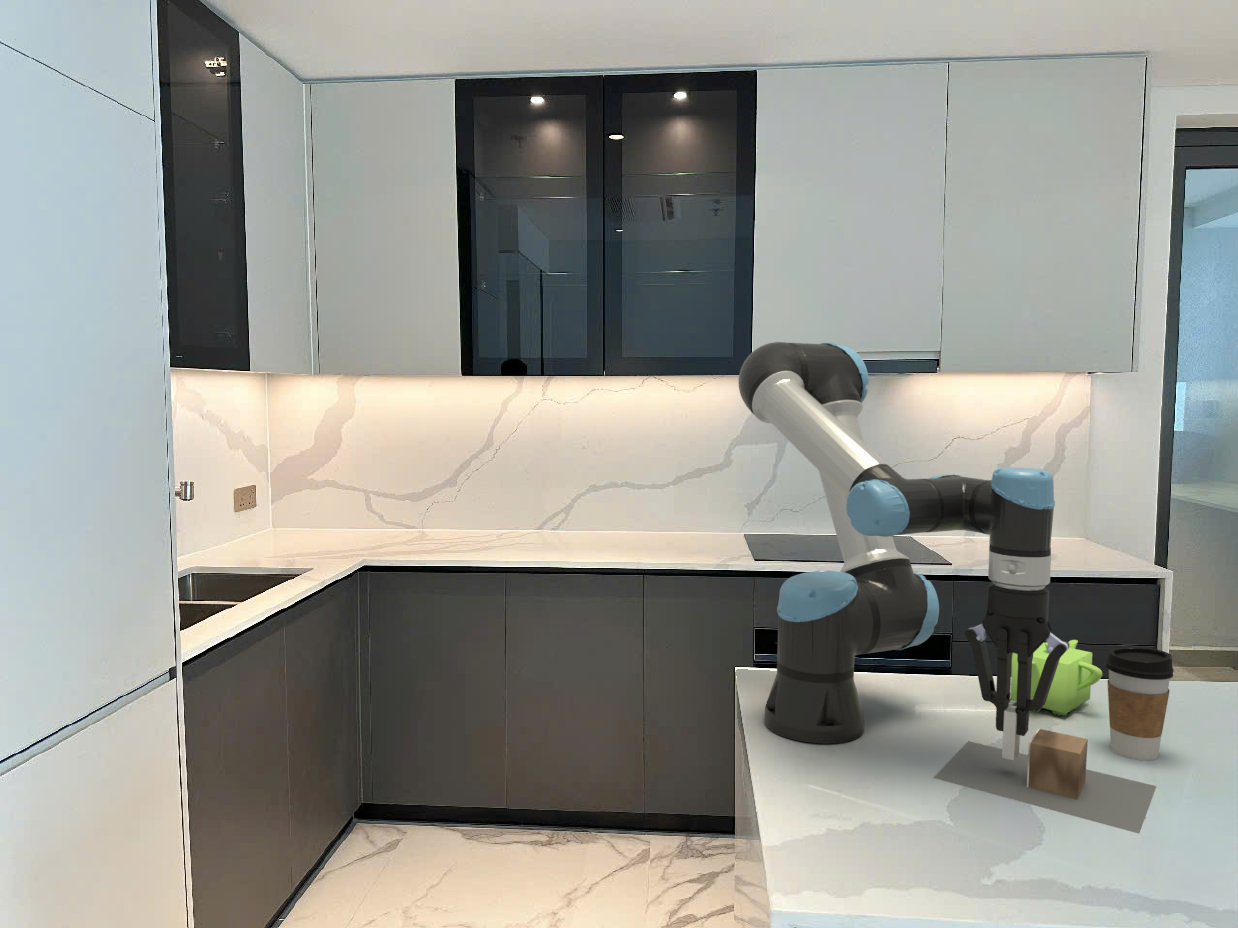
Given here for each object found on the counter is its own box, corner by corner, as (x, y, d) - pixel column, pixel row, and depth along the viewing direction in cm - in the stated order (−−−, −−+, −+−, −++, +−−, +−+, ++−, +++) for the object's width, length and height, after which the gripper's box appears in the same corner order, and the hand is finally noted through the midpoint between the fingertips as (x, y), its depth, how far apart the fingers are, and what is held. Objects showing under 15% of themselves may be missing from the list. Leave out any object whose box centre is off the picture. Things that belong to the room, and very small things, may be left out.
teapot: (1073, 692, 154) (1076, 632, 153) (1118, 720, 141) (1122, 655, 140) (986, 691, 154) (989, 631, 153) (1024, 720, 140) (1027, 655, 139)
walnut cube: (1028, 742, 115) (1080, 753, 112) (1037, 728, 120) (1087, 738, 117) (1026, 786, 116) (1077, 799, 112) (1035, 770, 121) (1085, 782, 117)
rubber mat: (933, 779, 118) (933, 777, 118) (968, 742, 131) (968, 740, 131) (1139, 835, 104) (1139, 833, 104) (1156, 788, 116) (1156, 785, 116)
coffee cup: (1178, 768, 123) (1185, 662, 121) (1112, 762, 124) (1118, 658, 123) (1154, 744, 131) (1160, 645, 130) (1092, 739, 133) (1098, 642, 131)
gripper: (959, 582, 119) (952, 752, 121) (1066, 596, 111) (1057, 778, 113) (975, 573, 125) (969, 735, 127) (1078, 586, 117) (1069, 759, 119)
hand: (1010, 755), depth 120 cm, fingers closed
